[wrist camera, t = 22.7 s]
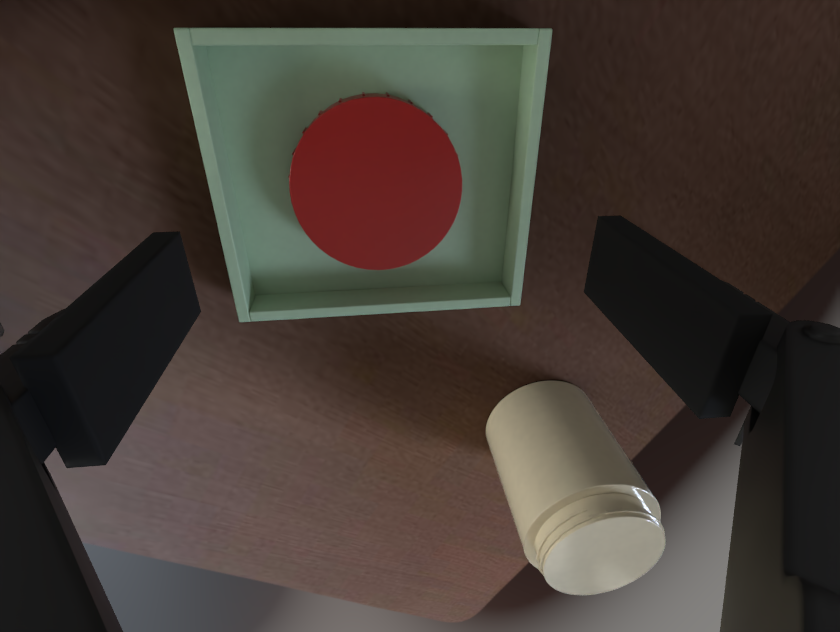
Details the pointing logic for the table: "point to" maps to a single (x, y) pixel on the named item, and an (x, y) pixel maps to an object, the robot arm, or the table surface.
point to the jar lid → (375, 181)
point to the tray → (341, 78)
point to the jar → (573, 490)
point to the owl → (1, 330)
